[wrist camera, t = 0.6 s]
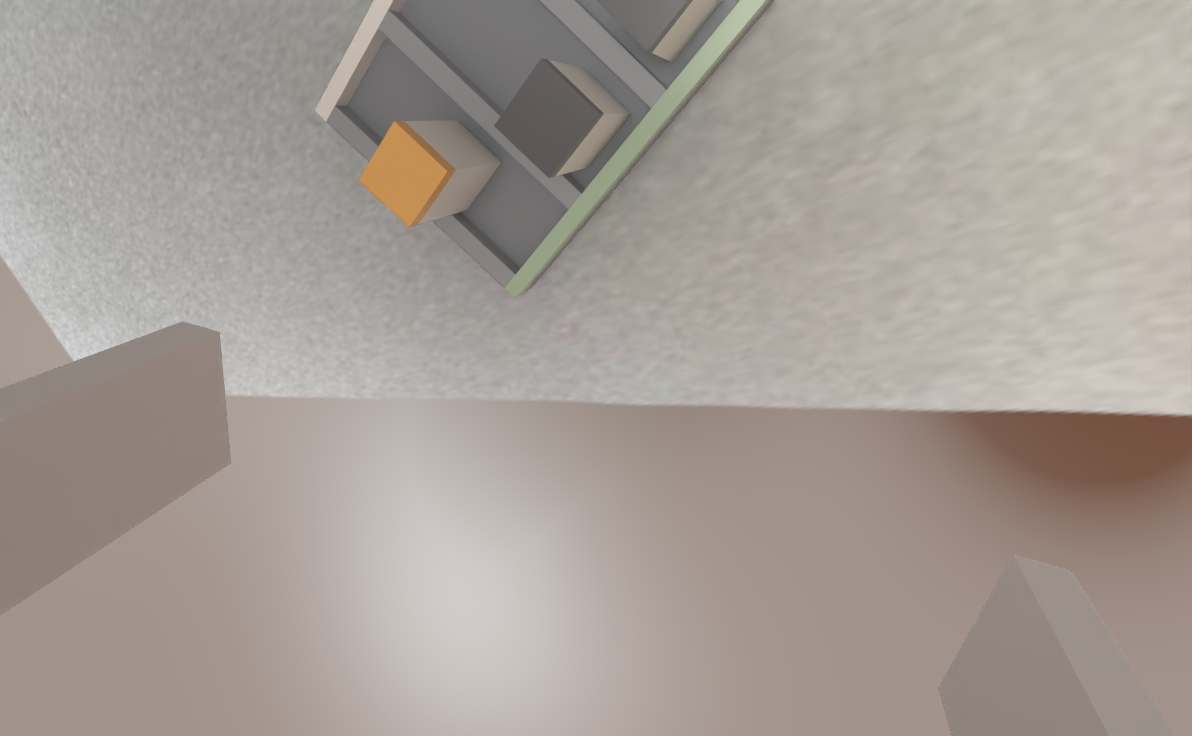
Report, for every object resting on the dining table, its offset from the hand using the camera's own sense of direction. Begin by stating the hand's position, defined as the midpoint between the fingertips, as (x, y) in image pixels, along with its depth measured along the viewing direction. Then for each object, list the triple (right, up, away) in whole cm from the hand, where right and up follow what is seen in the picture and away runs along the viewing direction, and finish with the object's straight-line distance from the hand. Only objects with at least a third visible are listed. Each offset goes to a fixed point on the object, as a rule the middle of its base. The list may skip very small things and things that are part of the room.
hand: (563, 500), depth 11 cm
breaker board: (-3, +17, +21) cm, 27 cm away
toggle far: (-6, +13, +22) cm, 26 cm away
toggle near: (+4, +18, +17) cm, 25 cm away
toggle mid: (0, +14, +20) cm, 24 cm away
